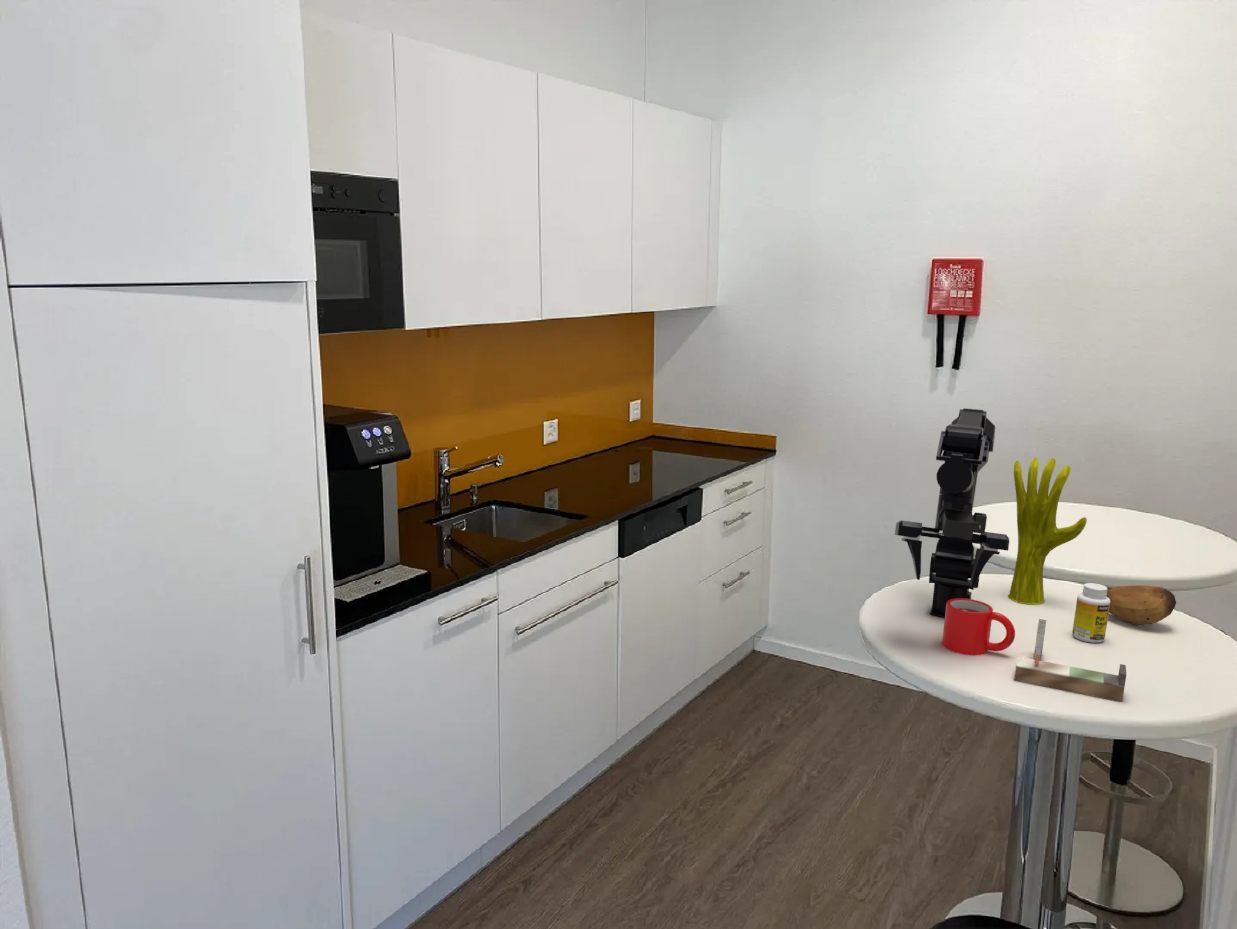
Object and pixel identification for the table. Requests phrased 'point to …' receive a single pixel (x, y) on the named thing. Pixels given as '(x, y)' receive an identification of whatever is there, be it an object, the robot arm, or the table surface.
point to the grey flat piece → (1039, 640)
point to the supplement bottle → (1091, 613)
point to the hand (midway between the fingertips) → (944, 583)
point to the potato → (1140, 604)
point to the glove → (1037, 529)
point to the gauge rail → (1072, 678)
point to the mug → (973, 627)
